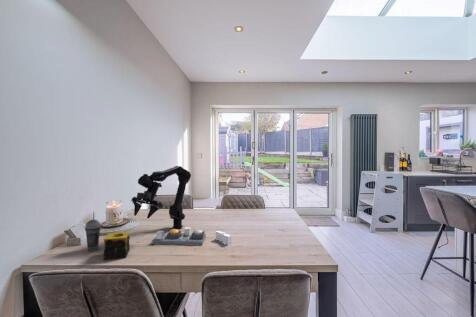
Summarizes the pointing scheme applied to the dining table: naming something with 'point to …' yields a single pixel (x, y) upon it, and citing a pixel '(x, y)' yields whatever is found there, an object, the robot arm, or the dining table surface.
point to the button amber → (174, 231)
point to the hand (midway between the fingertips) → (141, 216)
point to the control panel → (181, 239)
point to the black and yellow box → (116, 245)
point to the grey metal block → (160, 234)
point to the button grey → (197, 232)
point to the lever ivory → (187, 231)
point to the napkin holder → (223, 237)
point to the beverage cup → (92, 234)
